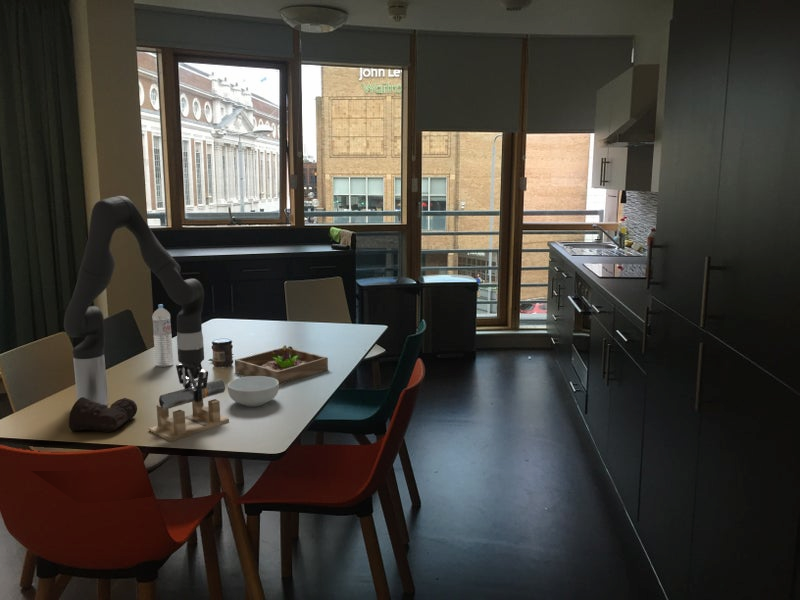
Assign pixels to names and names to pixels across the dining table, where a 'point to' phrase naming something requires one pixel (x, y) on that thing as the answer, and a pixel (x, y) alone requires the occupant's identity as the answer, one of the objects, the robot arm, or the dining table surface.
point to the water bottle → (162, 337)
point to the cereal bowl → (253, 390)
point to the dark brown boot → (100, 415)
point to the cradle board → (188, 420)
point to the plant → (283, 360)
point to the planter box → (255, 362)
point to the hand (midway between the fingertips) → (193, 399)
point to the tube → (190, 394)
